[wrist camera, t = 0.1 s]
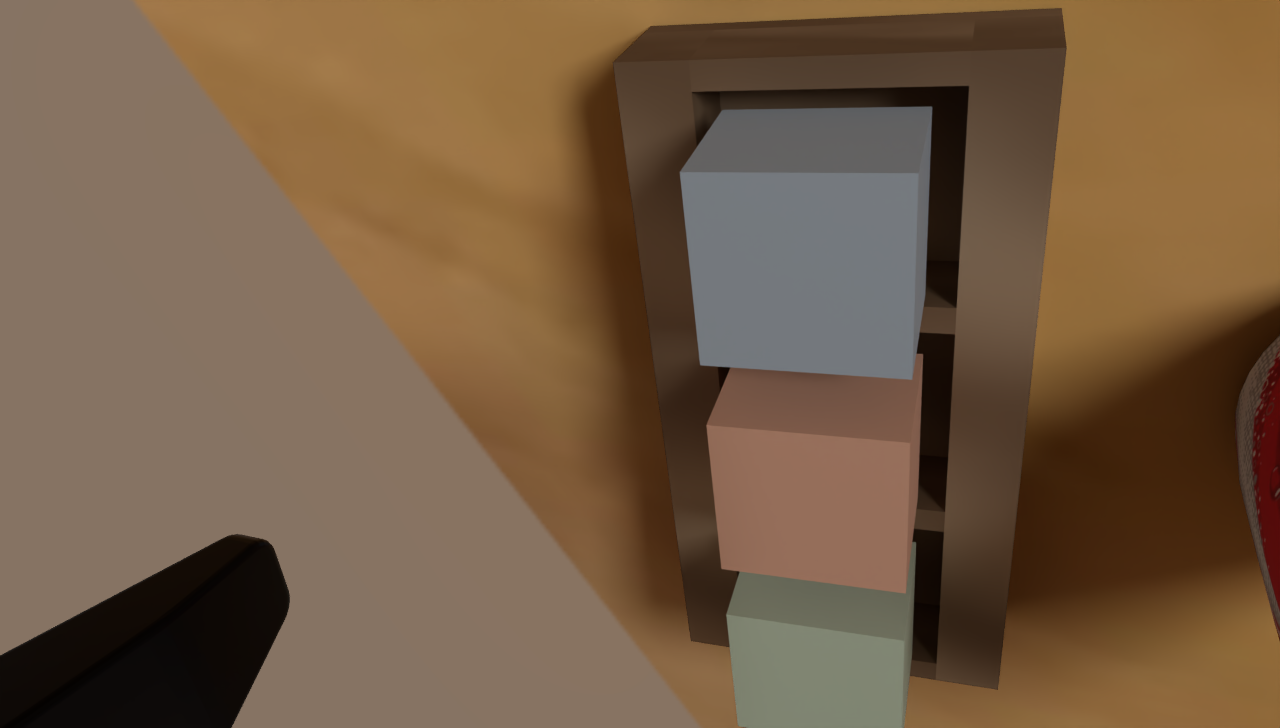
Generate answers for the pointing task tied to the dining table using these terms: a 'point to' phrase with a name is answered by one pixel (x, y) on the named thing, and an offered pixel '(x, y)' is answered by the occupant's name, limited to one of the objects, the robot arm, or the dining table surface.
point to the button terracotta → (817, 475)
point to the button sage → (820, 653)
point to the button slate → (810, 239)
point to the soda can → (1262, 465)
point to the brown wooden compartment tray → (955, 275)
